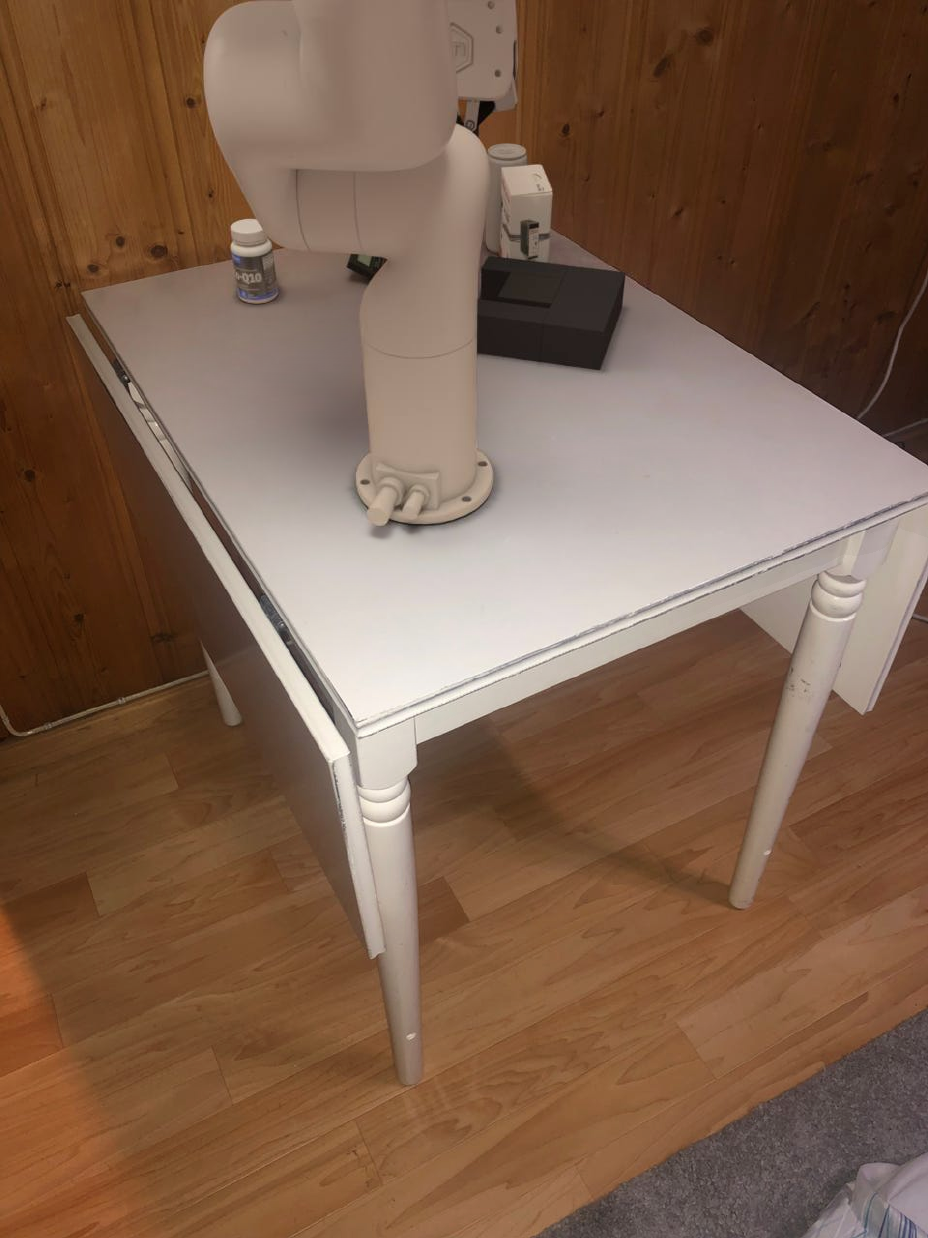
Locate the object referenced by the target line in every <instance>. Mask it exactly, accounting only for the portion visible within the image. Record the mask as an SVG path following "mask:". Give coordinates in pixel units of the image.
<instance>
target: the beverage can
mask: <svg viewBox="0 0 928 1238" xmlns="http://www.w3.org/2000/svg"><path fill="white" fill-rule="evenodd" d="M487 155H488V159H489V165H490V190H489V199H488V205H487V212H486V218H485V246H486V247H487V249H488V250H489V251H490V252H491V253H493V254H496V255H500V223H501V168H502V167H514V166H526V165H528V154H527V150H526V148H525V147H524V146H523V145H519V144H516V143H497V144H494V145H491V146H490V147H489V148H488V149H487Z"/></svg>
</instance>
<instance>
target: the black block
mask: <svg viewBox="0 0 928 1238" xmlns="http://www.w3.org/2000/svg"><path fill="white" fill-rule="evenodd" d="M562 280H563V279H561V278H553V277H545V276H537V275H528V274H520V273H512V272H511V273H510V275H509V277H508V279H507V281H506V282H505V284H504V286H503V288H502V290H501V292H500V294H499V295H498V302H503V303H511V304H519V305H526V306H534V307H542V308H550V306H551V304H552V302H553V300H554V298H555V295H556V293H557V291H558V289H559V287H560V285H561V282H562Z"/></svg>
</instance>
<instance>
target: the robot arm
mask: <svg viewBox="0 0 928 1238" xmlns="http://www.w3.org/2000/svg"><path fill="white" fill-rule="evenodd" d="M516 6H517V5H516V0H253V1H252V0H249V1H245V2H241V3H238V4H236V5H233V6H230V7H229V8H228V9H227V10H225V11H224V12H223V13H222V14H221V15H220V16H219V17H218V18H217V19H216V20H215V22H214V24H213V25H212V27H211V29H210V31H209V34H208V36H207V39H206V43H205V47H204V53H203V64H202V65H203V67H202V69H203V74H202V75H203V91H204V92H203V93H204V98H205V104H206V111H207V114H208V119H209V122H210V126H211V130H212V132H213V135H214V138H215V140H216V143H217V145H218V147H219V149H220V152H221V154H222V157H223V158H224V160H225V162H226V164H227V166H228V168H229V171H230V172H231V174H232V175H233V178H234V180H235V181H236V183H237V185H238V187H239V189H240V190H241V193H242V194H243V197H244V199H245V200H246V202H247V204H248V206H249V208H250V209H251V212H252V213H253V215H254V217H255V219H257V221H258V222H259V224H260V226H261V228H262V229H263V231H264V232H265V233H266V235H267V236H268V237H267V238H268V239H269V240H270V241H271V242H273V243H274V244H276V245H278V246H279V247H282V248H285V249H287V250H292V251H297V252H307V253H308V252H309V253H326V254H327V253H329V254H345V255H350V254H364V255H367V256H377V257H383V258H386V259H387V261H386V262H385V264H384V265H383V266H382V267H381V268H380V270H379V271H378V272H377V273H376V275H375V276H374V277H373V279H372V280H370V281H369V283H368V284H367V286H366V288H365V290H364V292H363V294H362V297H361V301H360V305H359V318H358V319H359V331H360V340H361V352H362V353H361V355H362V365H363V366H362V367H363V376H364V379H363V380H364V389H365V401H366V413H367V415H366V416H367V424H368V425H367V426H368V437H369V439H368V440H369V450H370V451H369V452H368V453H367V454H365V456H364V457H363V458H362V459H361V461H360V462H359V464H358V465H357V468H356V471H355V487H356V491H357V494H358V496H359V498H360V500H361V501H362V502H363V504H365V506H367V508H368V509H367V511H366V518H367V520H368V521H369V523H371V524H372V525H374V526H378V527H382V526H385V525H386V524H387V523H388V522H389V520H392V521H395V522H399V523H405V524H411V525H432V524H433V525H434V524H442V523H446V522H451V521H454V520H456V519H459V518H462V517H465V516H467V515H468V514H470V513H472V512H474V511H475V510H477V509H478V508H479V507H480V506H482V505H483V504H484V503H485V502H486V500H487V499H488V498H489V497H490V495H491V492H492V489H493V485H494V469H493V466H492V463H491V461H490V459H489V458H488V457H487V456H486V454H485V453H483V451H482V450H480V449H479V448H478V447H477V433H478V432H477V429H478V427H477V421H478V418H477V413H478V410H477V408H478V407H477V405H478V403H477V402H478V401H477V400H478V399H477V398H478V397H477V396H478V353H477V299H478V291H479V274H480V273H479V272H480V271H479V270H480V261H481V260H480V259H481V251H482V243H483V236H484V230H485V225H486V212H487V205H488V199H489V190H490V165H489V159H488V155H487V154H488V151H487V149H486V147H485V146H484V144H483V142H482V141H481V140H480V125H482V123H483V122H484V121H485V120H487V118H488V117H489V116H490V115H491V114H496V113H502V112H503V113H504V112H506V111H507V112H508V111H512V110H514V109H515V107H516V106H517V105H518V103H519V98H518V93H517V87H516V83H517V79H518V71H519V70H518V68H519V41H518V39H519V37H518V20H517V19H518V18H517V7H516ZM459 100H465V101H466V107H465V115H464V121H463V120H462V116H461V112H460V105H459Z"/></svg>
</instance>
